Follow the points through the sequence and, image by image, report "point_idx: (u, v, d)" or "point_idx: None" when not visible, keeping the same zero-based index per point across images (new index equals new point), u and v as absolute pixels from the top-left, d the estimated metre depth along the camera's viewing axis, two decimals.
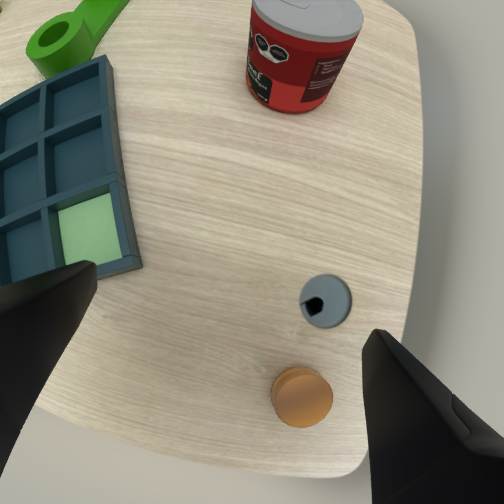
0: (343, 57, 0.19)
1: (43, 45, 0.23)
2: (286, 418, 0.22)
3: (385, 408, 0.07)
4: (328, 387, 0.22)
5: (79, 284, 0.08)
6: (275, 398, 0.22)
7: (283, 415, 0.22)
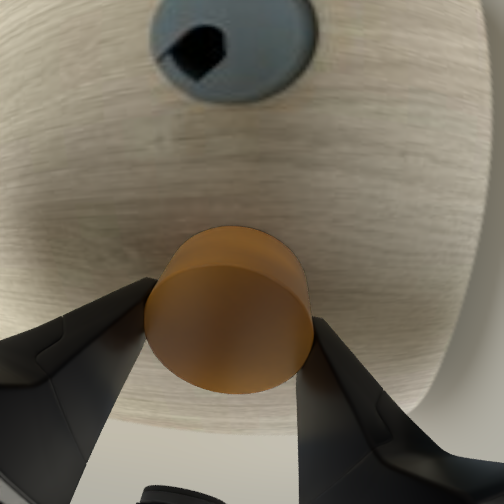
0: None
1: None
2: (197, 379, 0.09)
3: (311, 401, 0.07)
4: (284, 294, 0.07)
5: None
6: None
7: (186, 373, 0.09)
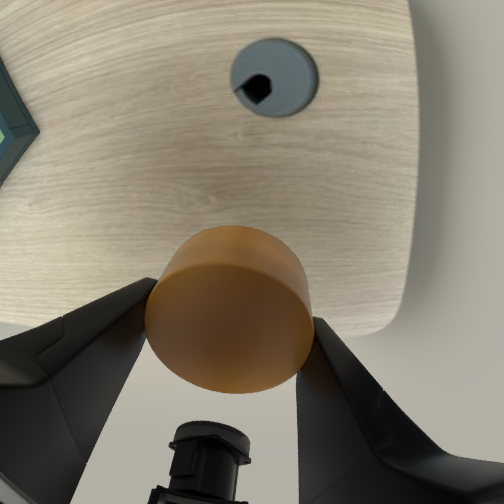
0: None
1: None
2: (197, 378, 0.09)
3: (311, 401, 0.07)
4: (285, 293, 0.07)
5: None
6: None
7: (187, 372, 0.09)
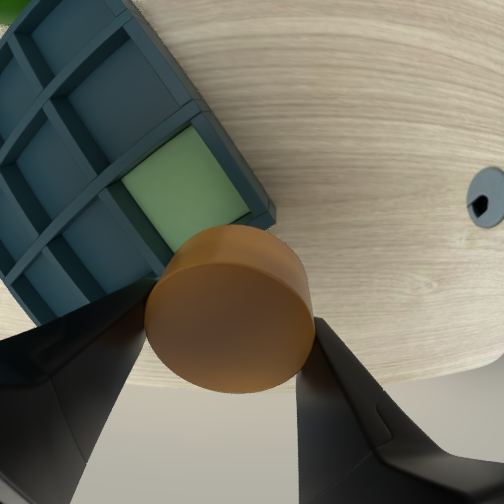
0: None
1: None
2: (198, 378, 0.09)
3: (311, 401, 0.07)
4: (286, 292, 0.07)
5: None
6: None
7: (187, 372, 0.09)
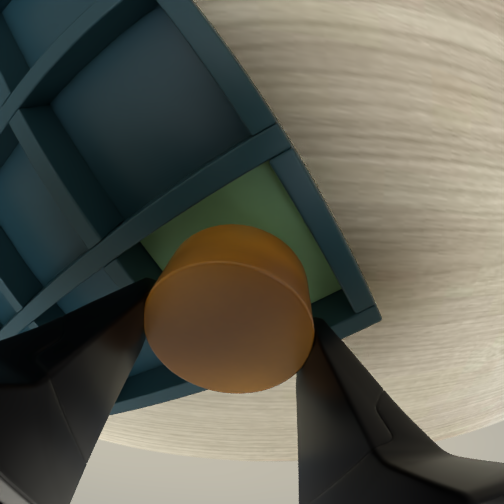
0: None
1: None
2: (197, 378, 0.09)
3: (311, 401, 0.07)
4: (285, 292, 0.07)
5: None
6: None
7: (186, 372, 0.09)
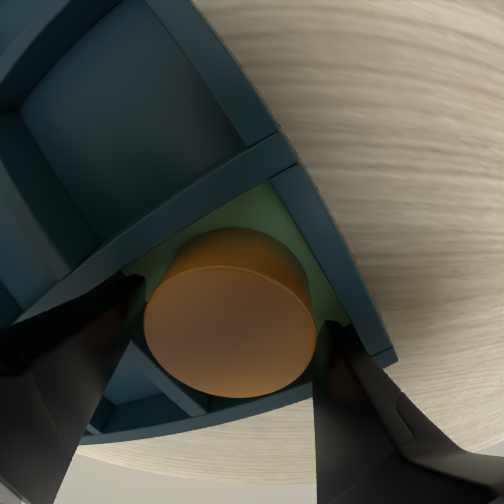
0: None
1: None
2: (198, 382, 0.09)
3: (329, 404, 0.07)
4: (287, 297, 0.07)
5: (132, 301, 0.08)
6: None
7: (187, 376, 0.09)
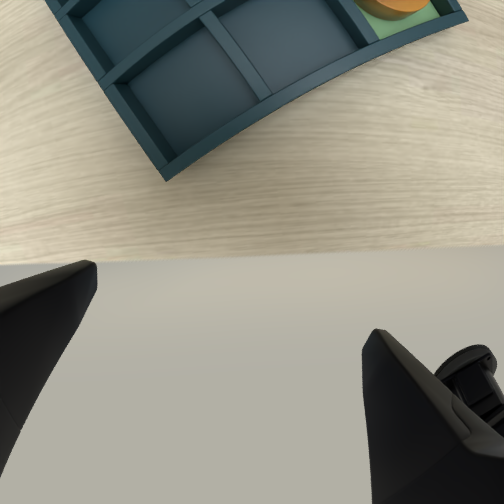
0: None
1: None
2: None
3: (385, 408, 0.07)
4: None
5: (79, 284, 0.08)
6: None
7: None
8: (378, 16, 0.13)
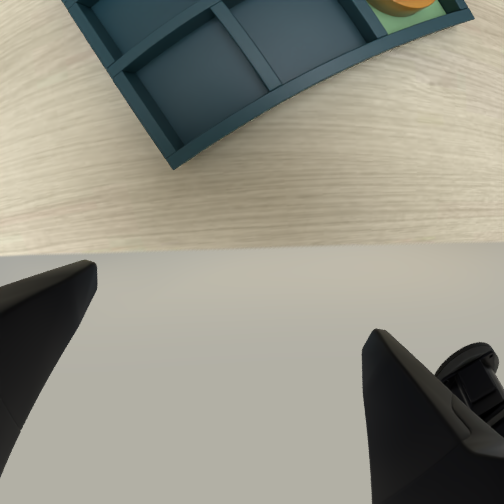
0: None
1: None
2: None
3: (385, 408, 0.07)
4: None
5: (79, 284, 0.08)
6: None
7: None
8: (386, 12, 0.13)
